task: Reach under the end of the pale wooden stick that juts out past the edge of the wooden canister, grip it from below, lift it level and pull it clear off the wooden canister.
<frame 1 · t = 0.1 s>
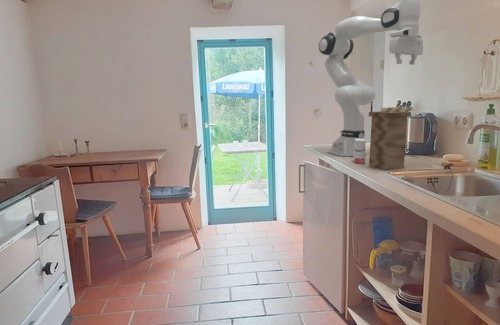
hand: (405, 64, 166), 48 cm above the countertop, tool pointing down, fingers open, 8 cm apart
ink box: (358, 162, 179), on the countertop
wooden canister: (386, 167, 166), on the countertop
stick: (397, 111, 164), point 26 cm above the countertop, touching wooden canister
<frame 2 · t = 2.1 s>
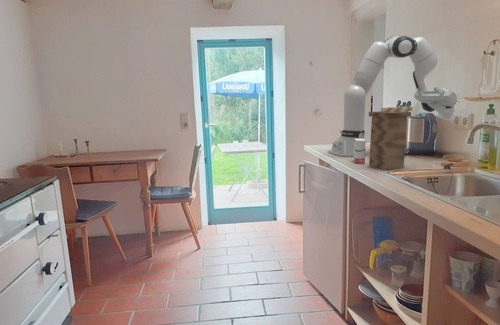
hand: (426, 88, 178), 37 cm above the countertop, tool pointing upward, fingers open, 8 cm apart
nothing on the countertop moved.
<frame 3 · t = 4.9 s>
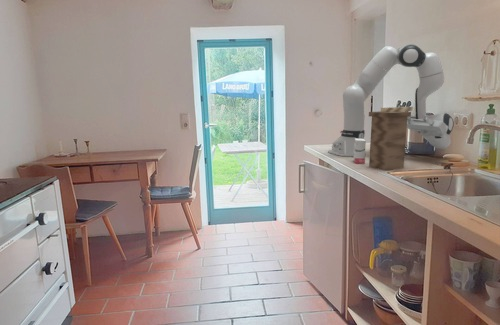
hand: (416, 118, 172), 22 cm above the countertop, tool pointing upward, fingers open, 8 cm apart
nothing on the countertop moved.
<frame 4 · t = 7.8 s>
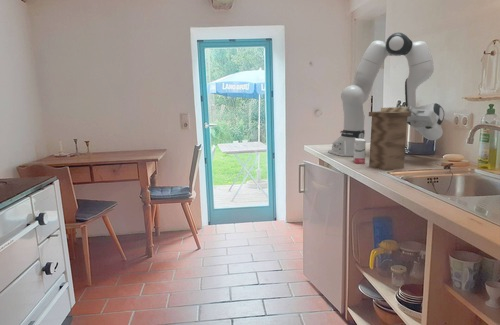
hand: (405, 107, 167), 28 cm above the countertop, tool pointing upward, fingers closed on stick, 2 cm apart
stick: (397, 111, 164), point 26 cm above the countertop, touching gripper, wooden canister
everything else where it was.
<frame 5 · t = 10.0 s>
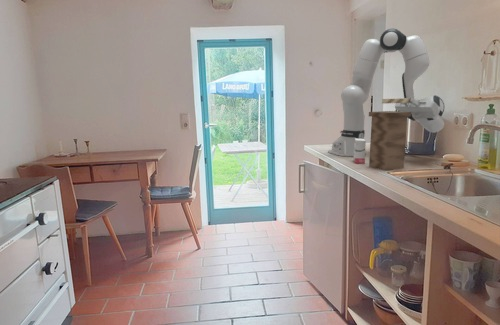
hand: (407, 99, 166), 32 cm above the countertop, tool pointing upward, fingers closed on stick
stick: (398, 103, 163), point 30 cm above the countertop, touching gripper
everything else where it was.
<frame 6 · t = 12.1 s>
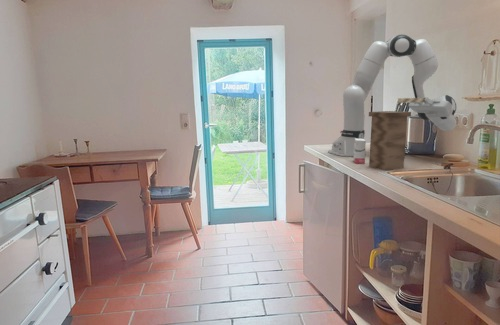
hand: (421, 98, 171), 32 cm above the countertop, tool pointing upward, fingers closed on stick
stick: (413, 102, 168), point 30 cm above the countertop, touching gripper
everything else where it was.
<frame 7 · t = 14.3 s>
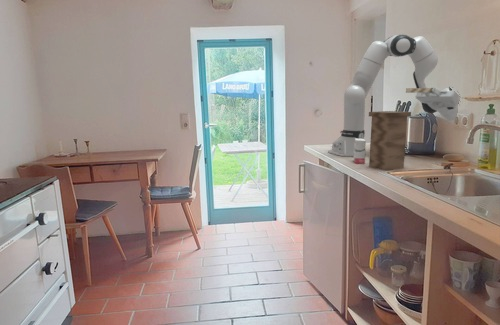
hand: (428, 89, 175), 36 cm above the countertop, tool pointing upward, fingers closed on stick
stick: (420, 92, 172), point 35 cm above the countertop, touching gripper
everything else where it was.
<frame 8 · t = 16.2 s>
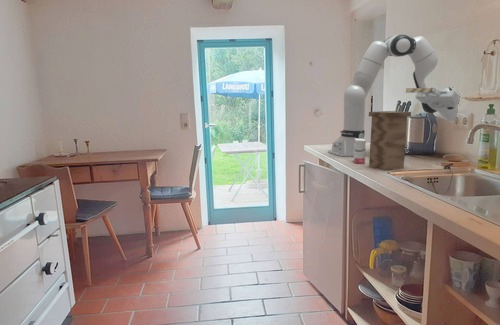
hand: (428, 89, 175), 36 cm above the countertop, tool pointing upward, fingers closed on stick
stick: (420, 92, 172), point 35 cm above the countertop, touching gripper
everything else where it was.
at the end: the gripper is holding stick; stick point 34.7 cm above the countertop; stick touching gripper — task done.
